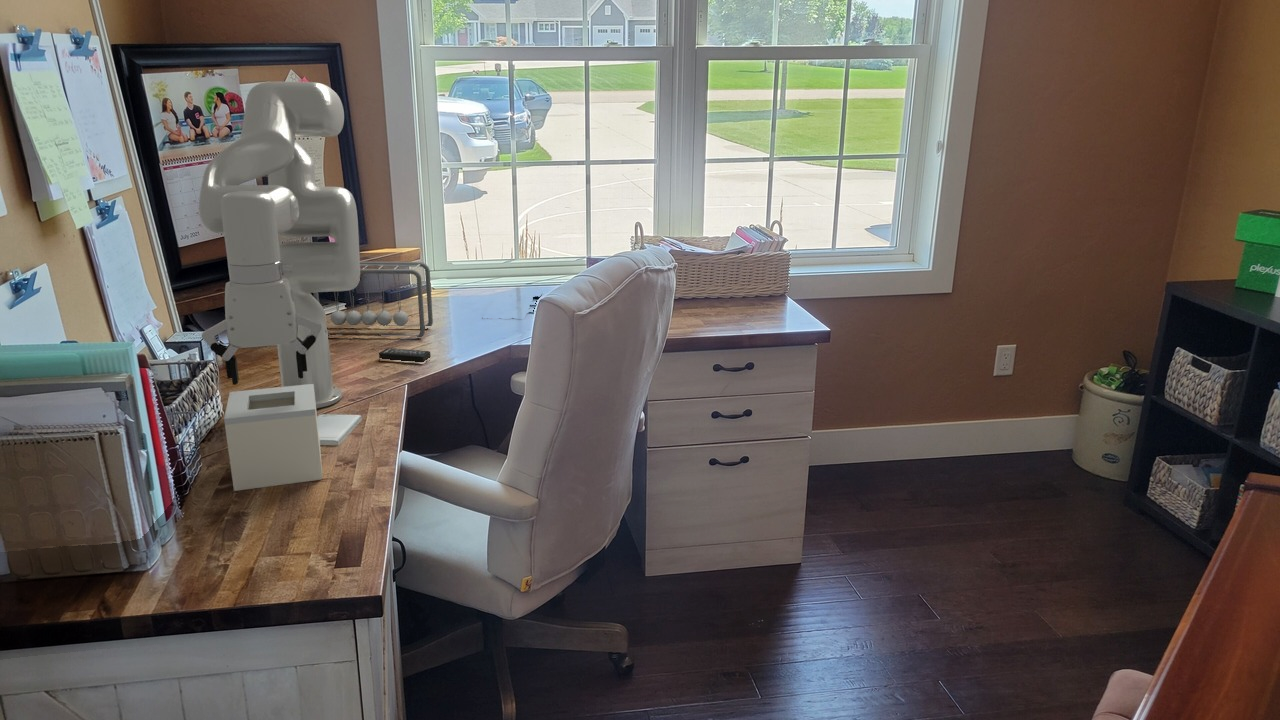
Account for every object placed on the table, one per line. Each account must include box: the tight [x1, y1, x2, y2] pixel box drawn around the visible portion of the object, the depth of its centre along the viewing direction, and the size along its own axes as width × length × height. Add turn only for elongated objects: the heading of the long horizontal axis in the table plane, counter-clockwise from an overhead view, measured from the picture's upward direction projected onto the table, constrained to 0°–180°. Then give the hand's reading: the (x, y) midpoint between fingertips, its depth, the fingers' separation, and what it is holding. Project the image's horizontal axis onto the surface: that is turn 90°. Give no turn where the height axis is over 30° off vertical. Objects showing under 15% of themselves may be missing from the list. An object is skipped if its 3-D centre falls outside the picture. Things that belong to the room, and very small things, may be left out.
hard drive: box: [317, 413, 363, 446], centre depth 161 cm, size 2×8×12 cm
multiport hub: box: [378, 347, 431, 362], centre depth 203 cm, size 4×11×2 cm, turn 78°
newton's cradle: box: [313, 261, 434, 338], centre depth 222 cm, size 30×10×18 cm, turn 91°
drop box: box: [223, 384, 323, 492], centre depth 143 cm, size 13×13×12 cm
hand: (268, 379), depth 141 cm, fingers open, 9 cm apart
